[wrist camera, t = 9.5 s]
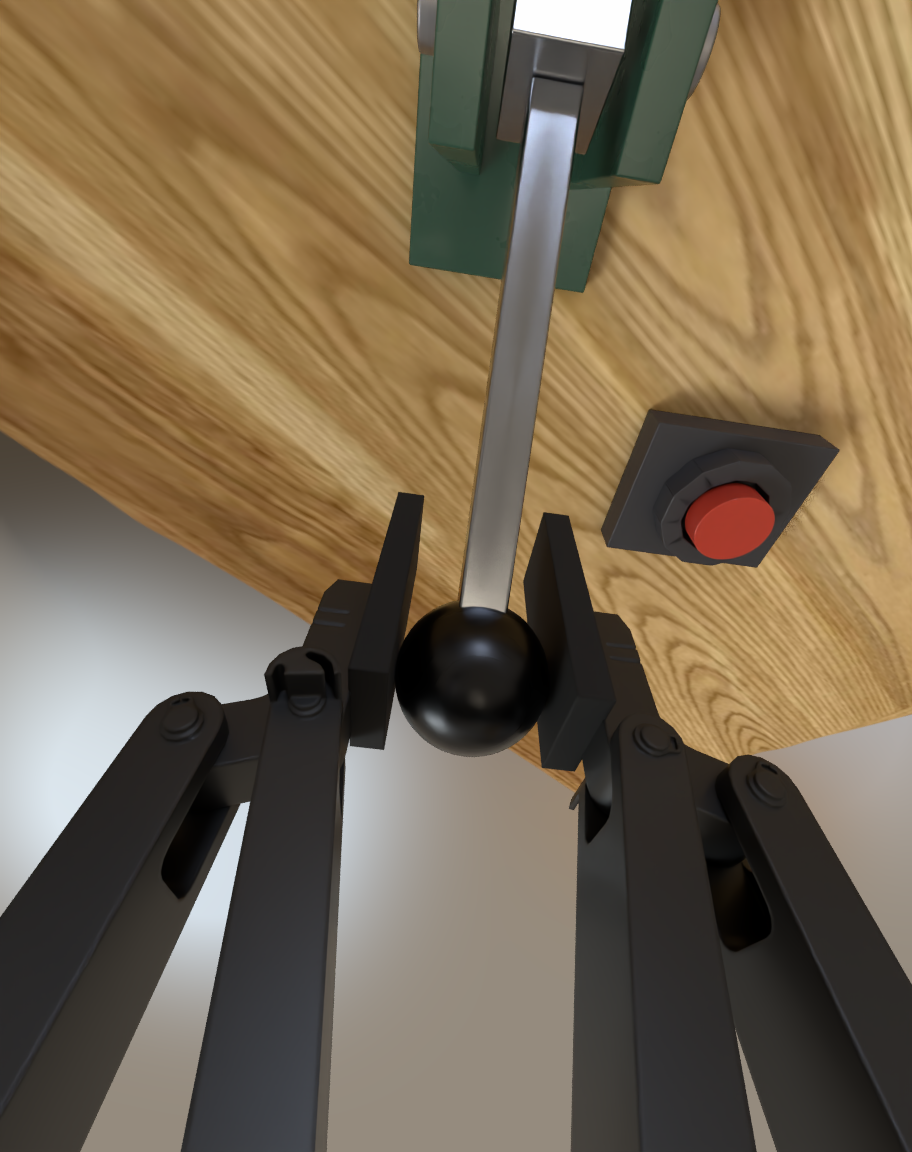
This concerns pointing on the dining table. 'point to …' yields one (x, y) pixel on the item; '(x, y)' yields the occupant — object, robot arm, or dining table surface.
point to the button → (729, 521)
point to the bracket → (488, 166)
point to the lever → (514, 387)
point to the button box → (708, 480)
